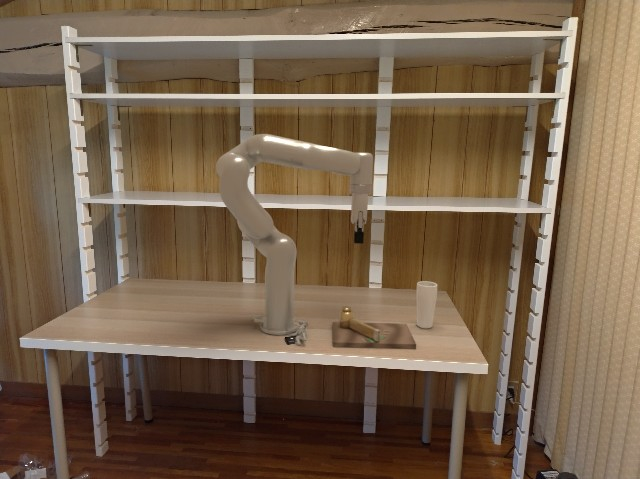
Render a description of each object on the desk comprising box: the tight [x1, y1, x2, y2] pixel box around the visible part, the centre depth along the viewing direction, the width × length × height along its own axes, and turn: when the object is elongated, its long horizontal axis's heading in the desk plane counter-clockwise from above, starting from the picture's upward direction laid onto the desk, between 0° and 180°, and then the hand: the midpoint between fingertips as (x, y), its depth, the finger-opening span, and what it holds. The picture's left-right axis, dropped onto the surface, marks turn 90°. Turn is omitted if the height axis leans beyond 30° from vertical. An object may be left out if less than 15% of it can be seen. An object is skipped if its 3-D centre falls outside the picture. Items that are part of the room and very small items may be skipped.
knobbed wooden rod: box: [339, 305, 381, 341], centre depth 146 cm, size 18×4×6 cm, turn 36°
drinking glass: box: [415, 280, 438, 330], centre depth 157 cm, size 7×7×15 cm
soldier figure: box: [287, 319, 309, 346], centre depth 146 cm, size 8×5×12 cm
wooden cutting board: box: [331, 321, 417, 350], centre depth 148 cm, size 25×17×2 cm
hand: (358, 242), depth 160 cm, fingers closed
